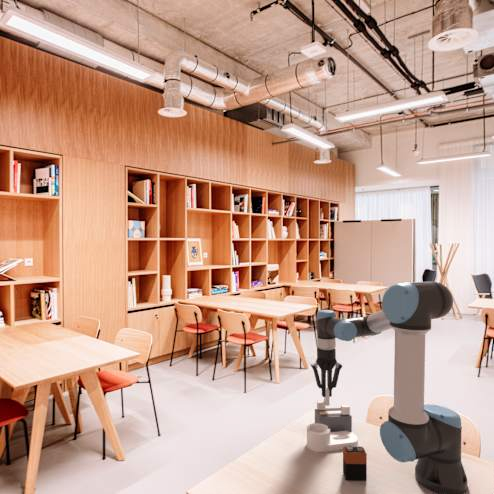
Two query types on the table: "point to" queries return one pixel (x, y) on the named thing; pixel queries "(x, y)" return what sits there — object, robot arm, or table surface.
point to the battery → (354, 463)
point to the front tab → (345, 409)
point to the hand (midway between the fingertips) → (326, 404)
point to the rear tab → (321, 405)
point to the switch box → (334, 419)
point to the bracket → (328, 438)
